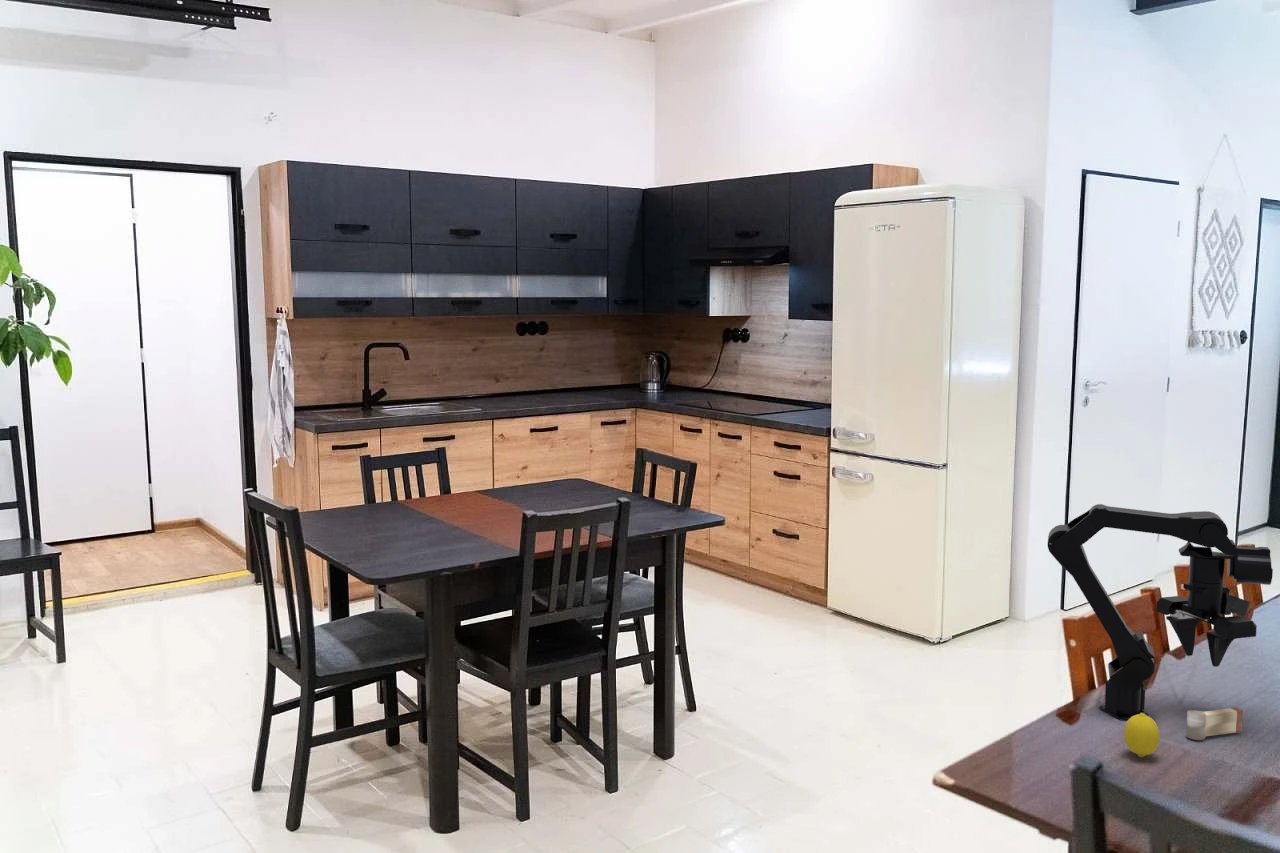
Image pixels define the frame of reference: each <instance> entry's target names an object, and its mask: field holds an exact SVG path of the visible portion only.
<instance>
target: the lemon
mask: <svg viewBox="0 0 1280 853" xmlns="http://www.w3.org/2000/svg"><path fill="white" fill-rule="evenodd" d="M1123 731H1124V733H1123V736H1124V743H1125V744H1126V746H1127V748H1128V749H1129V750H1130V751H1131V752H1132V753H1134V754H1136V755H1137V757H1139V758H1144V757H1146V756H1148V755H1152V754H1153V753H1154V752H1155V751H1156V750H1157V749H1158V746H1159V743H1160V730H1159V728H1158V725H1157V723H1156V722H1155V720H1154V719H1153V718H1152V717H1150V715H1149V716H1147V715H1145V714H1144V713H1140V714H1137V715H1134V716H1132V717H1131V718H1130V719H1127V721H1126V723H1125V727H1124V730H1123Z"/></svg>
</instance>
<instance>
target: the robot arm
mask: <svg viewBox="0 0 1280 853" xmlns="http://www.w3.org/2000/svg"><path fill="white" fill-rule="evenodd" d="M1104 528H1110V529H1117V530H1124V531H1132V532H1141V533H1149V534H1156V535H1163V536H1171V537H1174V538H1177V539H1179V540H1183V541H1185V542H1186V543H1185V545H1183V546H1181V547H1180V548H1178V553H1179V555H1180V556H1181V557H1189V571H1188V573H1189V574H1188V582H1183V586H1182V587H1183V589H1184V590H1187V591H1188V592H1187V593H1188V594H1187V595H1188V596H1187V597H1184V596H1181V595H1176V596H1175V595H1174V596H1166V597H1165V596H1164V597H1163V596H1162V597H1160V598H1159V599H1158V600H1157V602H1156V613H1159V614H1161V615H1164V616H1166V617H1165V618H1166V620H1167V621H1169V623H1170V625H1171V627H1172V628H1173V630H1174V632H1175V634H1176V635H1177V639H1178V640H1179V642H1180V644H1181V646H1182V649H1183V651H1184V653H1185V655H1186V656H1188V657H1191V656H1193V654H1194V650H1195V643H1196V642H1195V641H1196V631H1197V630H1196V629H1197V626H1198V625H1199V624H1200V623H1201V622H1205V623H1208V624H1210V625H1213V626H1212V627H1213V628H1212V629H1213V630H1214V631H1207V632H1205V633H1206V637H1207V638H1206V639H1207V640H1206V641H1207V645H1208V651H1209V656H1210V662H1211V665H1212V667H1214V668H1217V667H1220V664H1221V662H1222V661H1223V658H1224V656H1225V655H1226V653H1227V650H1228V648H1229V647H1230V645H1231V644H1232V642H1234V641H1235V639H1244V638H1254V637H1255V638H1256V637H1257V627H1258V626H1257V624H1256V623H1255V622H1254V621H1253V620H1250V619H1248V618H1246V617H1247V614H1248V610H1249V608H1250V604H1251V603H1252V602H1251V601H1249V600H1246V599H1243V598H1240V597H1238V596H1235V595H1232V594H1231V590H1230V587H1229V586H1226V585H1224V581H1225V564H1226V570H1227V571H1226V572H1227V573H1226V574H1227V576H1228V577H1232V578H1233V582H1234V583H1240V584H1241V583H1242V584H1254V585H1255V584H1256V585H1267V586H1271V583H1272V581H1273V573H1274V570H1273V568H1272V558H1271V549H1270V548H1269V547H1267V546H1256V547H1253V546H1239V545H1238V546H1237V545H1236V543H1235V541H1234V540H1233V539H1230V538H1229V536H1228V535H1229V531H1228V527H1227V525H1226V523H1225V521H1224V520H1223V519H1222V518H1221V517H1220V516H1219V515H1218V514H1216V513H1215V512H1212V511H1207V510H1205V511H1186V512H1179V513H1167V512H1160V511H1159V512H1158V511H1152V510H1150V511H1149V510H1143V509H1142V510H1141V509H1134V508H1126V507H1125V508H1124V507H1117V506H1109V505H1105V504H1102V503H1099V504H1098V503H1097V504H1095V505H1093V506H1091V508H1089V510H1087V511H1085V512H1083V513H1082V514H1080V515H1079V516H1077V517H1074V518H1073V519H1072V520H1070V521H1069V522H1067V523H1066V524H1059V525H1055V526H1054V527H1053V528H1052V529H1050V531H1049V532H1048V535H1047V549H1048V551H1049V553H1050V555H1052V557H1053V558H1054V559H1055V561H1056V562H1058V564H1059V565H1060V566H1061V567H1063V569H1064V570H1065V571H1067V573H1069V575H1070V576H1071V577H1072V578H1073V580H1074V581H1075V582H1076V584H1077V586H1078V588H1079V589H1080V591H1081V593H1082V594H1083V596H1084V597H1085V599H1086V600H1087V602H1088V604H1089V605H1090V607H1091V609H1092V611H1093V612H1094V614H1095V616H1096V617H1097V618H1098V620H1099V622H1100V624H1101V625H1102V627H1103V628H1104V630H1105V632H1106V633H1107V635H1108V636H1109V638H1110V641H1111V643H1112V646H1113V650H1114V652H1115V655H1116V657H1115V658H1114V659H1112V660H1111V661H1109V662H1108V663H1107V667H1108V668H1107V670H1108V679H1106V680H1105V688H1104V689H1105V690H1104V693H1105V694H1104V704H1101V705H1099V706H1098V708H1099V709H1100V710H1102V711H1104V712H1106V713H1107V714H1109V715H1111V716H1113V717H1115V718H1116V719H1119V720H1122V721H1124V720H1129V719H1130V718H1131V717H1132V716H1134V715H1137V714H1140V713H1144V714H1145V715H1147V716H1149V717H1150V715H1149V712H1146V711H1145V707H1146V704H1145V701H1146V690H1145V683H1144V681H1146V680H1148V679H1150V678H1151V677H1152V676H1153V674H1154V671H1155V668H1156V667H1155V662H1154V660H1155V659H1156V656H1155V653H1154V648H1153V646H1152V645H1151V644H1149V643H1148V641H1147V640H1146V638H1145V636H1144V633H1143V630H1139V631H1137V632H1134V631H1133V630H1132V629H1131V628H1130V627H1129V626H1128V625H1127V623H1126V621H1125V620H1124V618H1123V617H1122V615H1121V614H1120V611H1119V610H1118V608H1117V607H1116V605H1115V604H1114V602H1113V600H1112V599H1111V597H1110V596H1109V594H1108V592H1107V591H1106V589H1105V587H1104V586H1103V584H1102V583H1101V581H1100V579H1099V578H1098V576H1097V574H1096V573H1095V571H1094V570H1093V568H1092V566H1091V565H1090V562H1089V560H1088V556H1087V553H1086V551H1085V548H1084V546H1083V545H1084V544H1085V543H1086V542H1088V541H1089V540H1090V539H1092V538H1093V537H1094V536H1095V535H1096V534H1098V533H1099V531H1101V530H1103V529H1104ZM1193 544H1195V545H1193ZM1196 545H1197V546H1196ZM1212 548H1215V549H1217V550H1218V551H1219V552H1218V551H1213V550H1212ZM1225 560H1227V562H1226V561H1225ZM1225 562H1226V563H1225ZM1232 614H1236V615H1232ZM1222 615H1224V616H1222ZM1231 615H1232V616H1231ZM1239 615H1240V616H1239Z"/></svg>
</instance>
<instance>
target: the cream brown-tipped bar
mask: <svg viewBox="0 0 1280 853" xmlns="http://www.w3.org/2000/svg"><path fill="white" fill-rule="evenodd" d="M1243 712H1244V710H1243V709H1240V708H1239V707H1236V706H1235V707H1230V708H1224V709H1223V708H1222V709H1216V710H1208V711H1207V710H1206V711H1205V710H1204V711H1201V710H1195V709H1192V710H1187V714H1186V737H1187V738H1189V739H1191V740H1196V741H1203V740H1205V739H1206V737H1210V736H1211V737H1212V736H1218V735H1226V734H1234V733H1235V734H1236V733H1242V731H1243V715H1244V714H1243Z"/></svg>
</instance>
